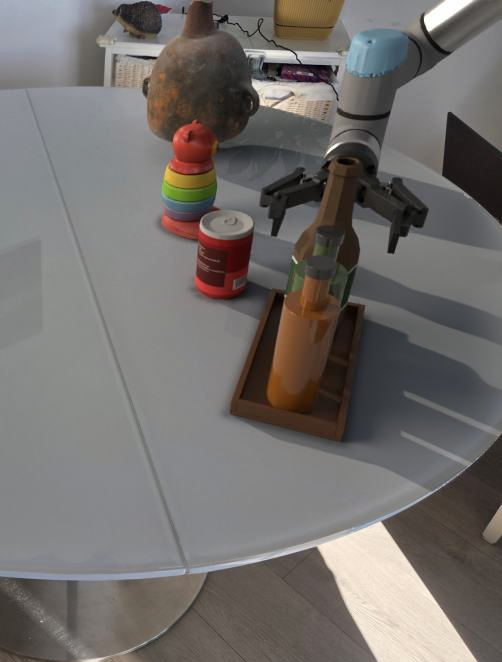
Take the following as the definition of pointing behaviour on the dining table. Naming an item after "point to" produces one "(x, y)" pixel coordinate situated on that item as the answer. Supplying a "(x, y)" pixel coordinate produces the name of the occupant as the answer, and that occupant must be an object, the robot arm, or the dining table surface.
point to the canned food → (223, 253)
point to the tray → (335, 383)
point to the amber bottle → (304, 339)
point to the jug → (200, 80)
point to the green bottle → (327, 245)
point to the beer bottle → (335, 222)
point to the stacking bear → (190, 180)
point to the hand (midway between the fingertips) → (332, 235)
